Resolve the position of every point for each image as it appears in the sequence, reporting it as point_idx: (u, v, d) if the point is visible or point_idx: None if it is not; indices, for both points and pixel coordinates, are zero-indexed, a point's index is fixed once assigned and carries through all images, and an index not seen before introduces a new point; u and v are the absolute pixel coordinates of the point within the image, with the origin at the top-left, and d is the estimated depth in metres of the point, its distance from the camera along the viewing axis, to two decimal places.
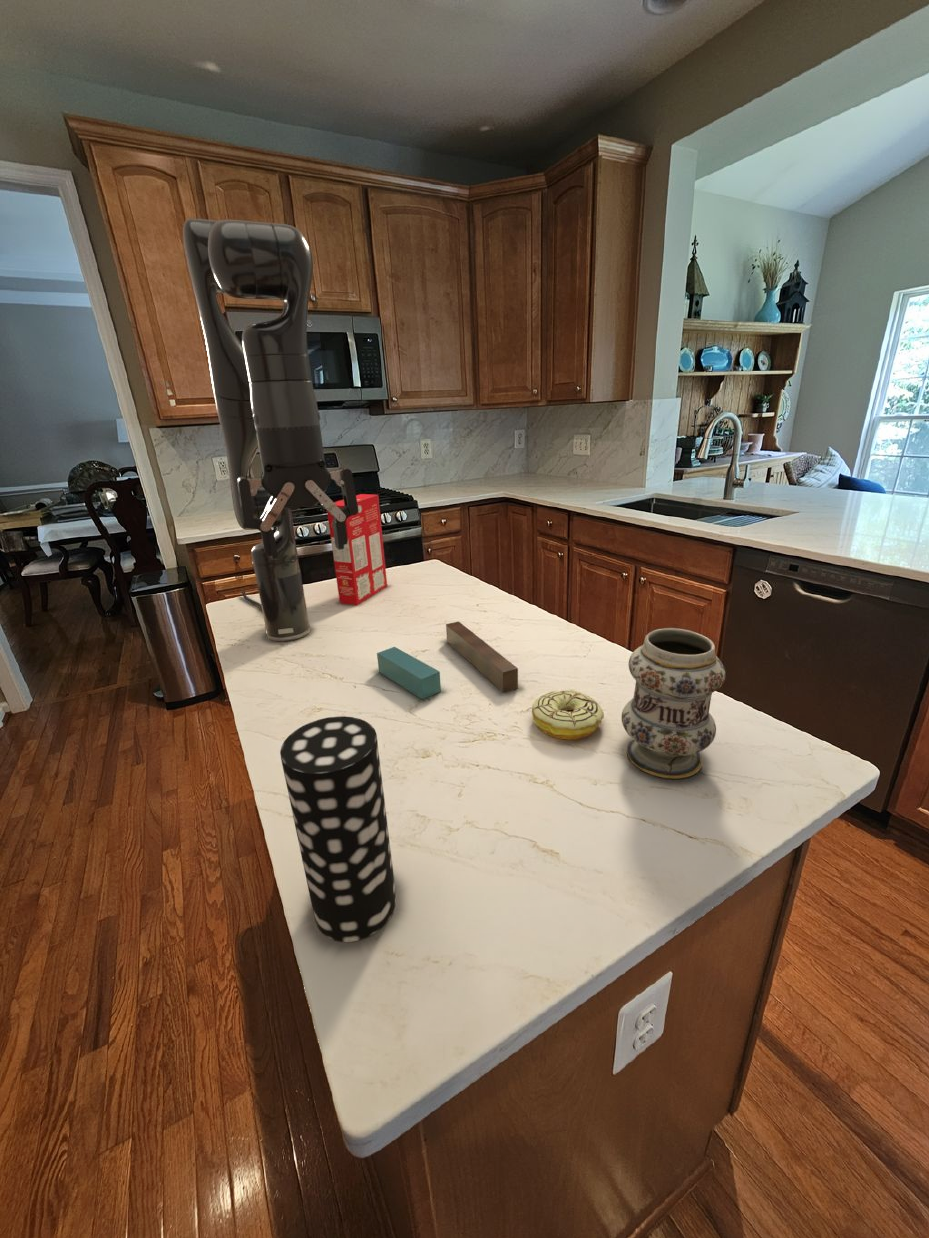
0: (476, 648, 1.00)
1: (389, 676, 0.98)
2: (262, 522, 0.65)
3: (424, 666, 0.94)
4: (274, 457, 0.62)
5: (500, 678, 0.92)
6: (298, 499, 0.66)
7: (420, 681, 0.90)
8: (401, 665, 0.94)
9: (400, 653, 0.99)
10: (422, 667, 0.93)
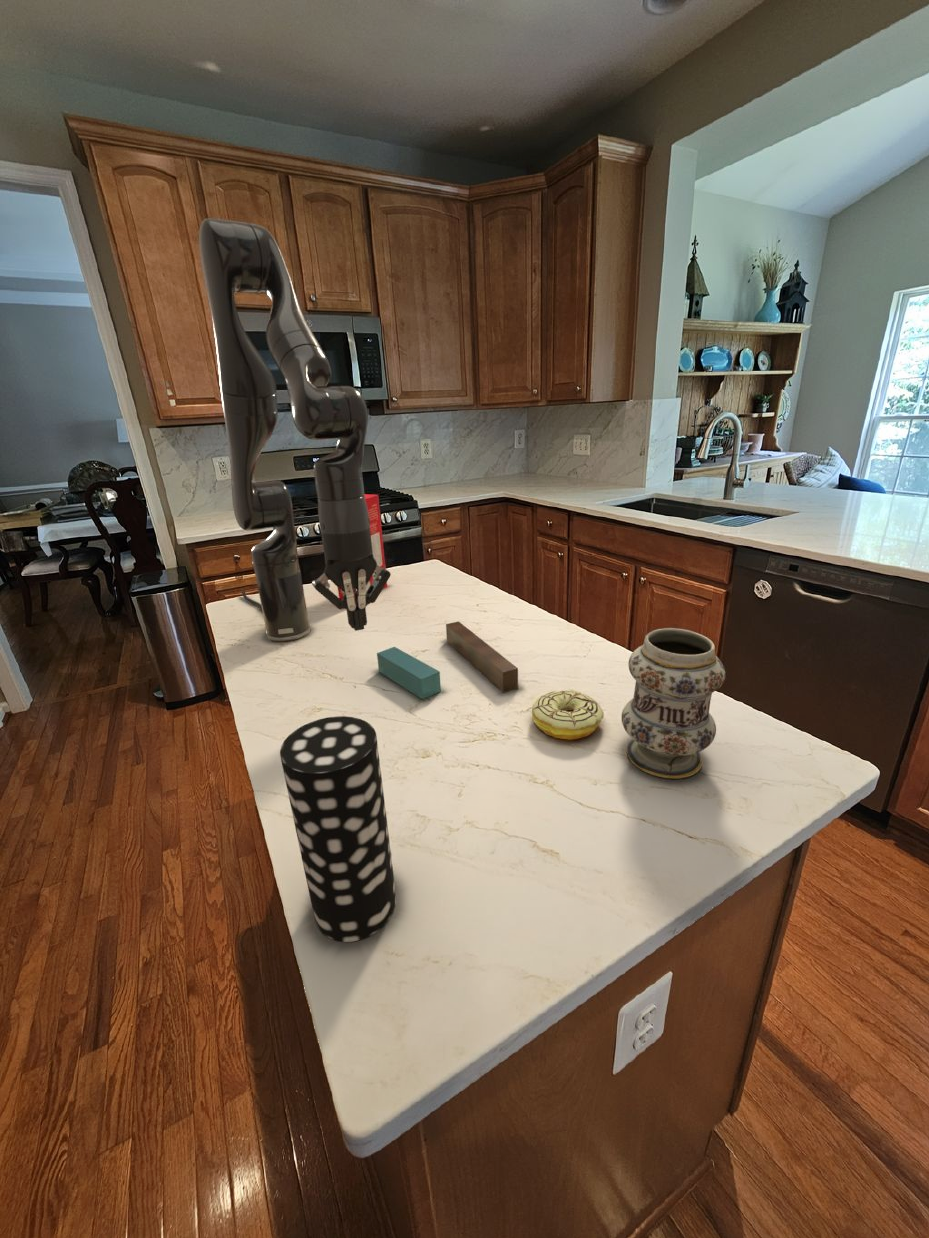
0: (476, 648, 1.00)
1: (389, 676, 0.98)
2: (349, 604, 0.86)
3: (424, 666, 0.94)
4: (336, 555, 0.80)
5: (500, 678, 0.92)
6: (352, 583, 0.85)
7: (420, 681, 0.90)
8: (401, 665, 0.94)
9: (400, 653, 0.99)
10: (422, 667, 0.93)
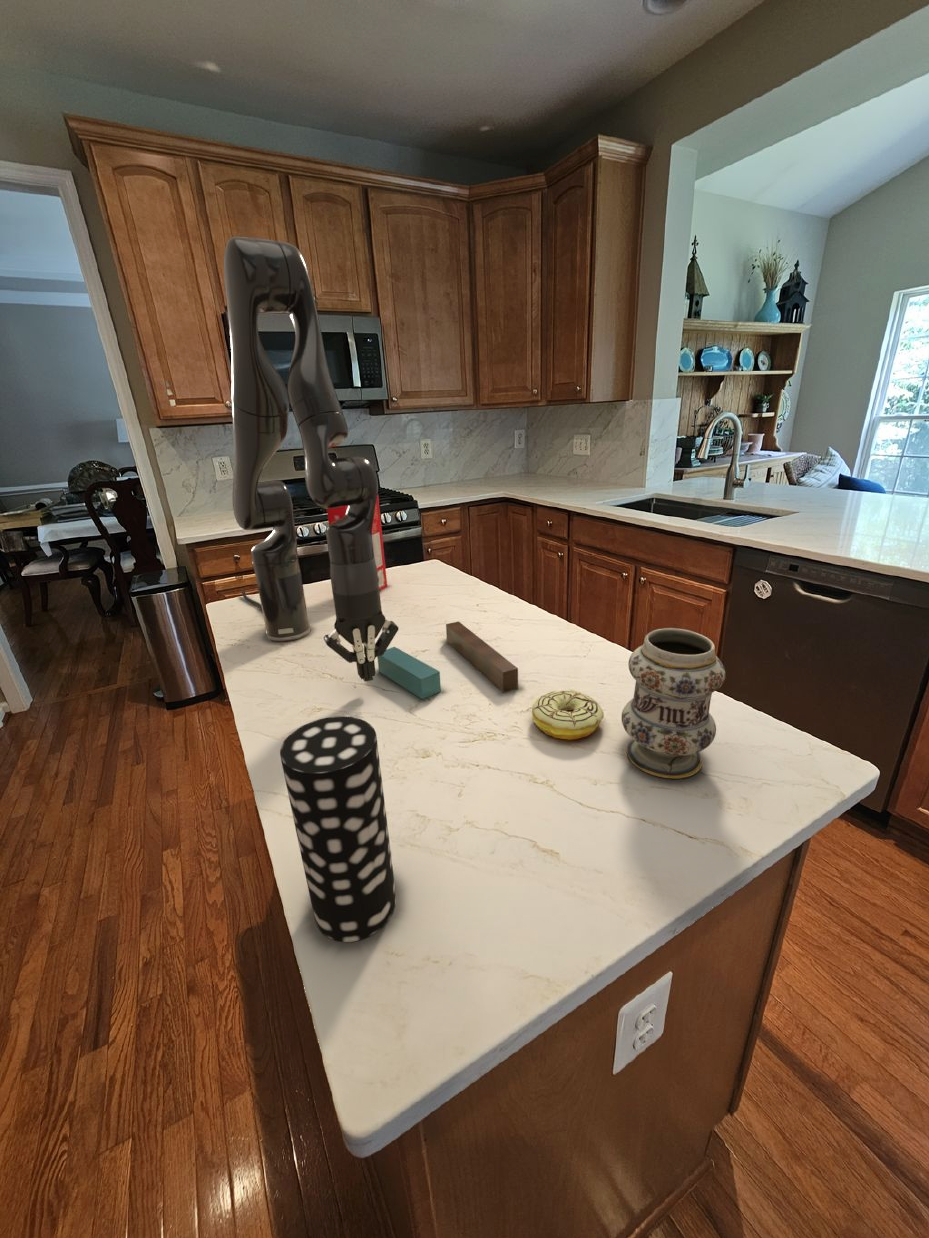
0: (476, 648, 1.00)
1: (389, 676, 0.98)
2: (359, 657, 0.90)
3: (424, 666, 0.94)
4: (347, 614, 0.84)
5: (500, 678, 0.92)
6: (361, 638, 0.89)
7: (420, 681, 0.90)
8: (401, 665, 0.94)
9: (400, 653, 0.99)
10: (422, 667, 0.93)
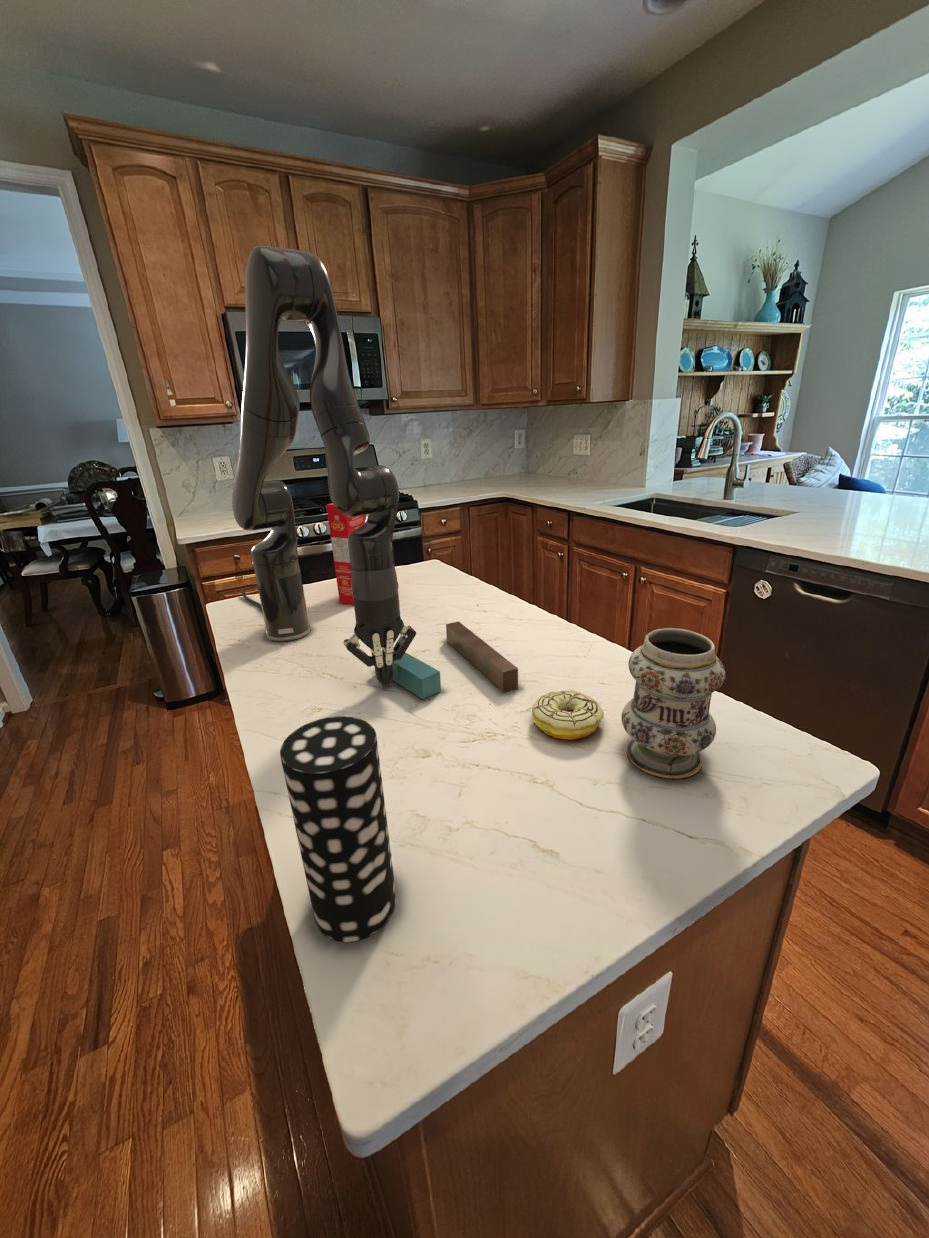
0: (476, 648, 1.00)
1: None
2: (378, 661, 0.92)
3: (424, 666, 0.94)
4: (368, 619, 0.86)
5: (500, 678, 0.92)
6: (380, 642, 0.90)
7: (420, 681, 0.90)
8: (401, 665, 0.94)
9: None
10: (423, 667, 0.93)
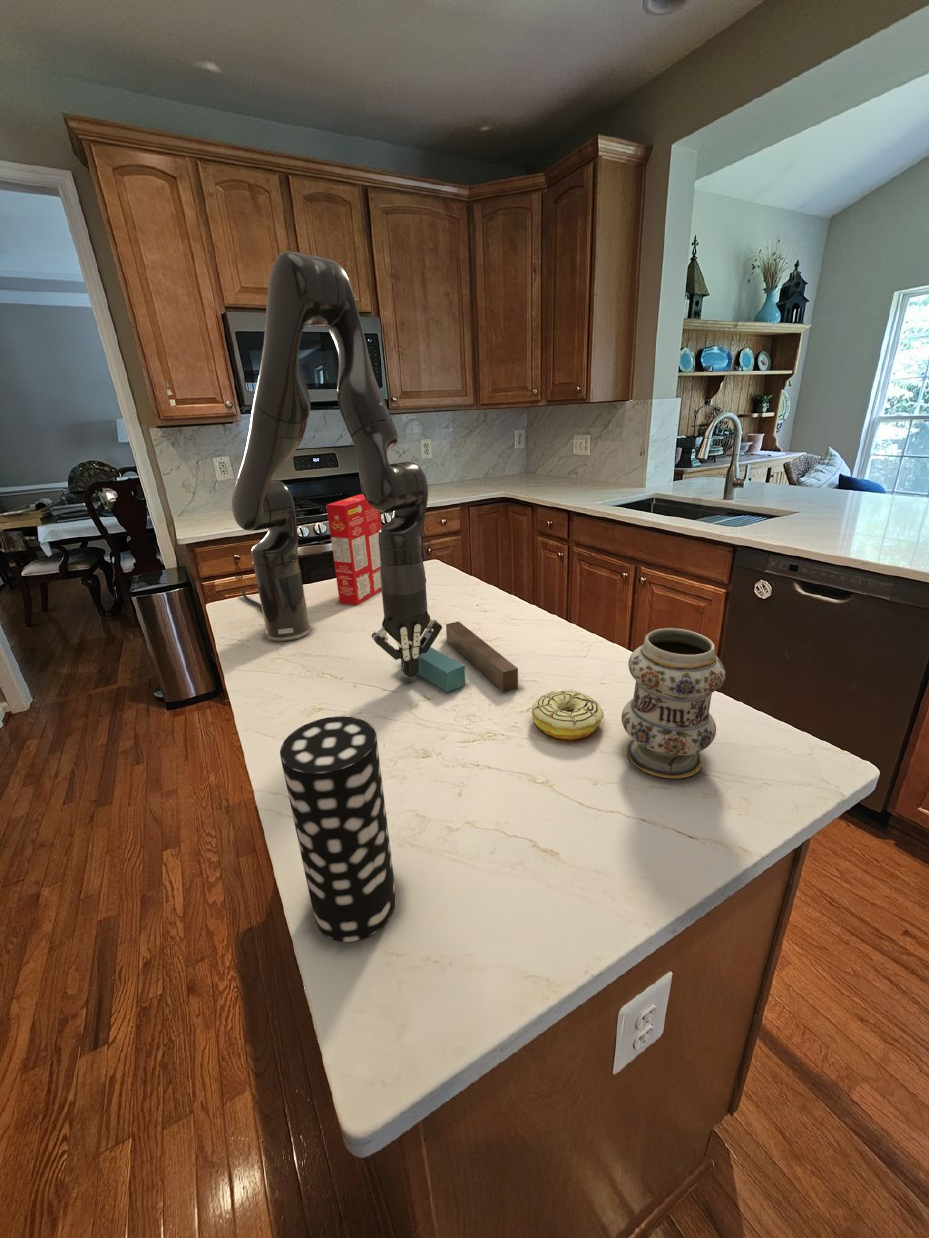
0: (476, 648, 1.00)
1: None
2: (405, 654, 0.93)
3: (449, 660, 0.95)
4: (396, 613, 0.88)
5: (500, 678, 0.92)
6: (408, 636, 0.92)
7: (445, 674, 0.92)
8: (426, 659, 0.96)
9: None
10: (447, 661, 0.95)
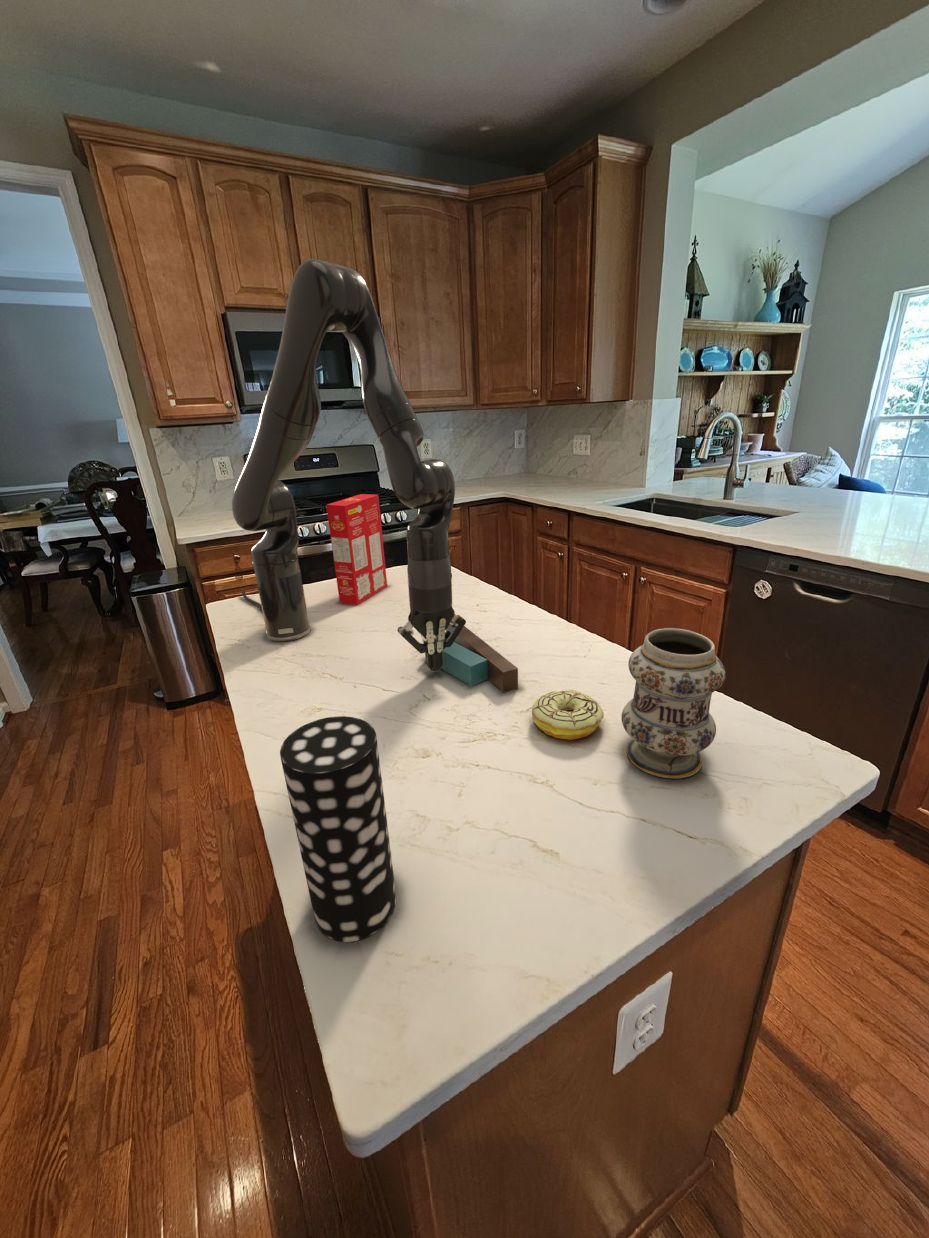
0: (476, 648, 1.00)
1: None
2: (429, 648, 0.95)
3: (472, 654, 0.97)
4: (423, 607, 0.90)
5: (500, 678, 0.92)
6: (433, 630, 0.94)
7: (469, 668, 0.93)
8: (450, 653, 0.98)
9: None
10: (470, 655, 0.97)
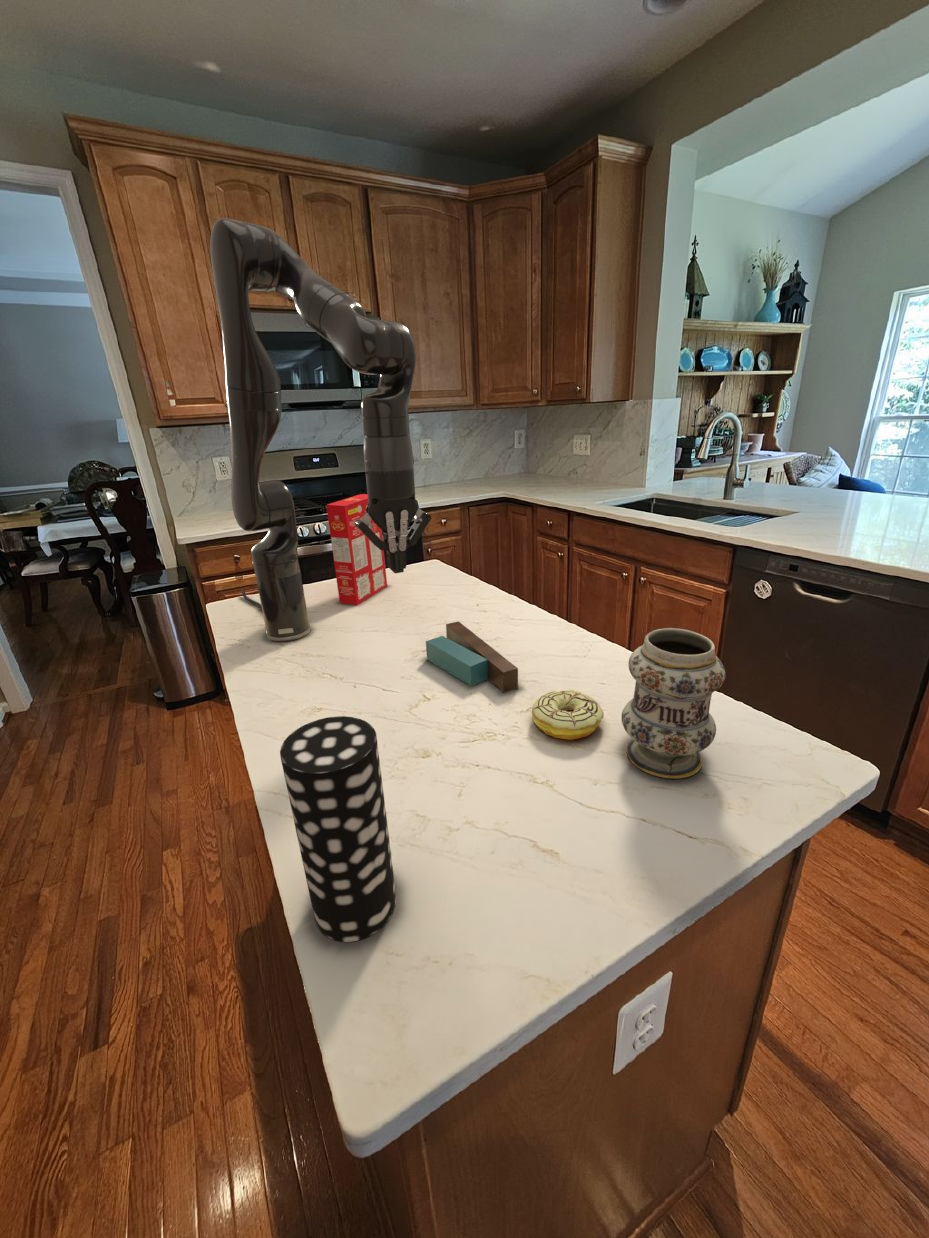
0: (476, 648, 1.00)
1: (437, 664, 1.02)
2: (391, 545, 0.86)
3: (472, 654, 0.97)
4: (381, 493, 0.81)
5: (500, 678, 0.92)
6: (394, 524, 0.85)
7: (469, 668, 0.93)
8: (450, 653, 0.98)
9: (448, 641, 1.03)
10: (470, 655, 0.97)
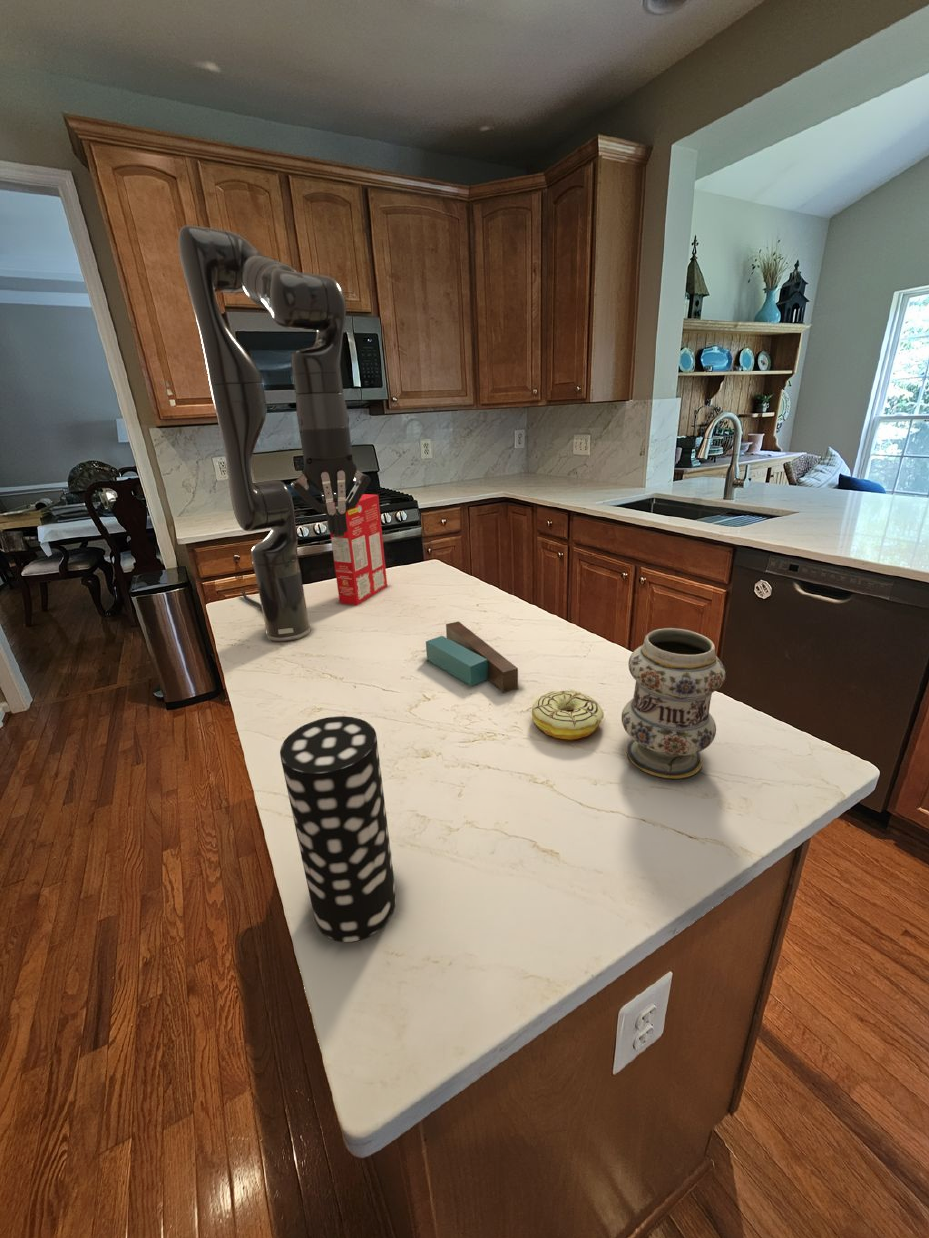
0: (476, 648, 1.00)
1: (437, 664, 1.02)
2: (329, 507, 0.85)
3: (472, 654, 0.97)
4: (315, 452, 0.80)
5: (500, 678, 0.92)
6: (331, 485, 0.84)
7: (469, 668, 0.93)
8: (450, 653, 0.98)
9: (448, 641, 1.03)
10: (470, 655, 0.97)
